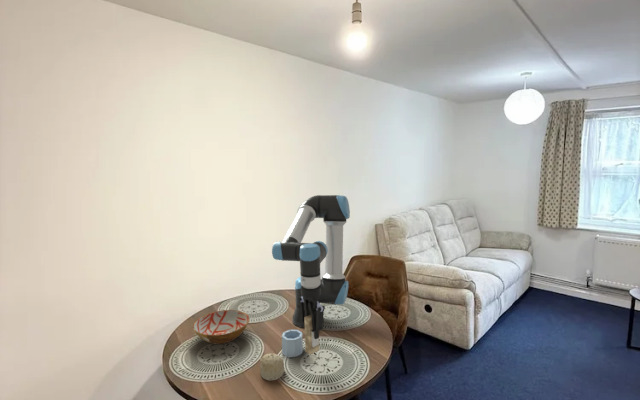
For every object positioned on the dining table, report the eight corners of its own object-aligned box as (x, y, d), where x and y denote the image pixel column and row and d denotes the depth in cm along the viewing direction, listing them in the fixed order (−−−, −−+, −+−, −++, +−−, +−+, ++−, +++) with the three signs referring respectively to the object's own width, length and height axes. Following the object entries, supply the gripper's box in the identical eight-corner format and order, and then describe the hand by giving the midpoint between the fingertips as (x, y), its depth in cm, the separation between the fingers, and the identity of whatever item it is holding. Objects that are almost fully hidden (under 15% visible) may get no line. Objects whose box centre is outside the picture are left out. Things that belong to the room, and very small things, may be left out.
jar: (278, 350, 141) (277, 334, 140) (295, 343, 147) (294, 327, 146) (290, 359, 134) (289, 342, 134) (307, 351, 140) (306, 335, 139)
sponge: (269, 375, 131) (254, 356, 130) (289, 361, 131) (274, 342, 130) (268, 391, 122) (251, 371, 120) (288, 375, 122) (272, 355, 121)
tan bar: (305, 351, 127) (304, 317, 125) (314, 347, 129) (313, 313, 128) (310, 355, 124) (309, 320, 123) (319, 350, 127) (318, 316, 125)
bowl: (260, 330, 159) (260, 315, 158) (225, 358, 136) (224, 340, 135) (220, 321, 169) (219, 306, 168) (181, 345, 147) (180, 328, 146)
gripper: (290, 281, 127) (292, 338, 130) (316, 294, 115) (318, 356, 118) (305, 277, 132) (307, 332, 135) (332, 288, 120) (333, 348, 123)
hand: (312, 343), depth 126 cm, fingers closed on tan bar, 3 cm apart
